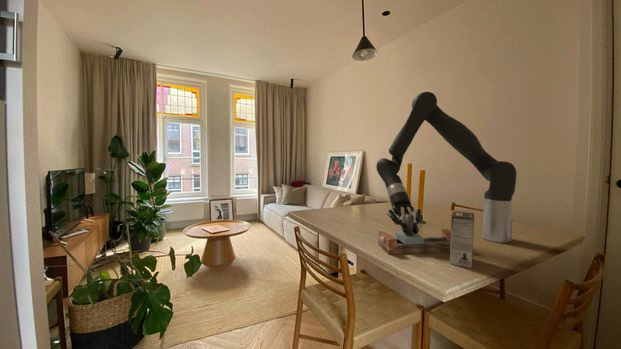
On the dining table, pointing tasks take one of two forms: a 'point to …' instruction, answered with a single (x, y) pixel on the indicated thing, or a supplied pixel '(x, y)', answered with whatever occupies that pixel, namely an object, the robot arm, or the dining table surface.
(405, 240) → the grey post blue base
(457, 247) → the coffee box
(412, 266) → the dining table surface
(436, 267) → the dining table surface
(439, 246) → the rail
